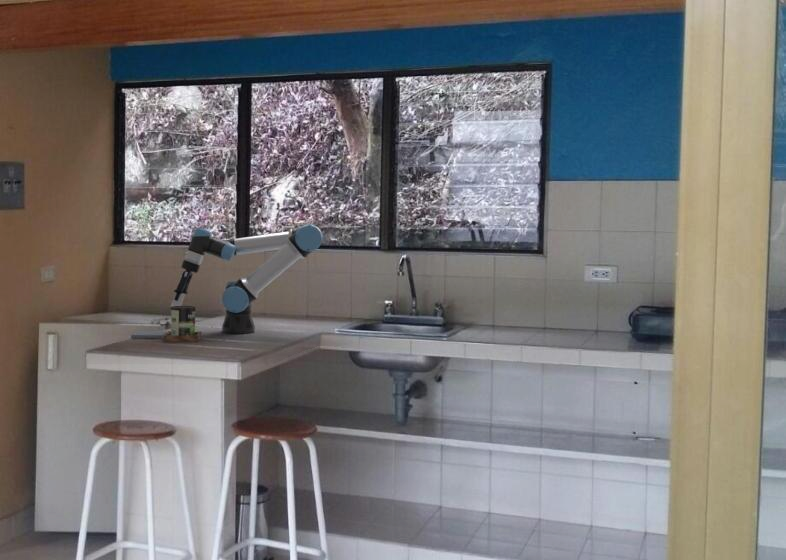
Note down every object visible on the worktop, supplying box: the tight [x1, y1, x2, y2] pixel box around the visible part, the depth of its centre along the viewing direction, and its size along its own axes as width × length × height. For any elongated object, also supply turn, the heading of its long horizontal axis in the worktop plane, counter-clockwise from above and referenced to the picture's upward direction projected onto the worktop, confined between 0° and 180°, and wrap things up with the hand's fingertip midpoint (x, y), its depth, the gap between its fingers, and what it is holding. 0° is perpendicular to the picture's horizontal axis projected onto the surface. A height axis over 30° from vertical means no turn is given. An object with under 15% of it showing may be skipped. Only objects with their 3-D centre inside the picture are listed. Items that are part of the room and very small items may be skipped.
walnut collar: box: [163, 331, 203, 343], centre depth 392 cm, size 14×14×2 cm
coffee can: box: [170, 305, 196, 336], centre depth 392 cm, size 10×10×14 cm
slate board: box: [130, 330, 167, 340], centre depth 399 cm, size 13×13×2 cm
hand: (175, 307), depth 404 cm, fingers open, 13 cm apart
